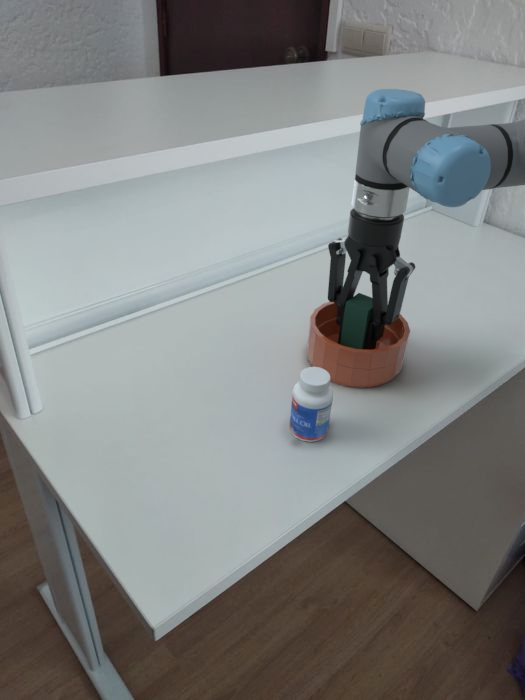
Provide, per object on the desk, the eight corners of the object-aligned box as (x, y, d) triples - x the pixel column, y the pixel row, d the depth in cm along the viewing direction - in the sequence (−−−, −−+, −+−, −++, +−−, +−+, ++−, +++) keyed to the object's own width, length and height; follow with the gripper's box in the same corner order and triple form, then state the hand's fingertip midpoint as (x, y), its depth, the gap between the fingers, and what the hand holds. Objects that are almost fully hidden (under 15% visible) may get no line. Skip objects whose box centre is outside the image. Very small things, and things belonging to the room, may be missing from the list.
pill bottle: (281, 427, 81) (285, 372, 76) (308, 411, 84) (314, 357, 79) (308, 449, 78) (315, 393, 73) (335, 431, 81) (344, 377, 76)
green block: (372, 348, 95) (381, 301, 89) (360, 359, 92) (368, 311, 87) (351, 339, 97) (358, 292, 91) (339, 350, 94) (345, 302, 89)
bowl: (418, 357, 97) (426, 321, 93) (371, 402, 87) (378, 365, 83) (339, 323, 104) (344, 289, 100) (287, 361, 94) (290, 325, 90)
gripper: (312, 202, 82) (300, 338, 96) (421, 236, 74) (391, 380, 87) (340, 189, 87) (325, 320, 101) (446, 219, 79) (414, 358, 92)
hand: (356, 347), depth 94 cm, fingers closed on green block, 4 cm apart
